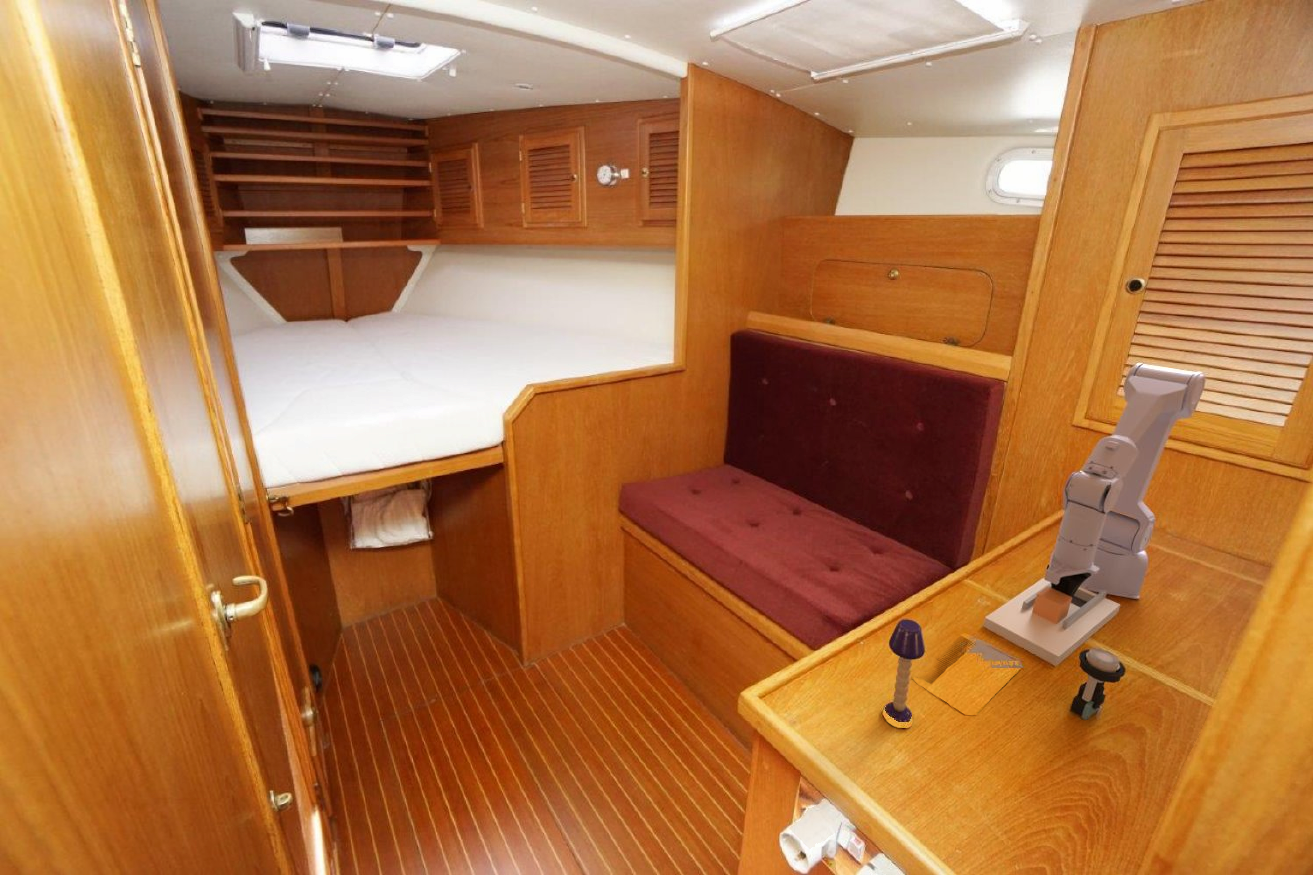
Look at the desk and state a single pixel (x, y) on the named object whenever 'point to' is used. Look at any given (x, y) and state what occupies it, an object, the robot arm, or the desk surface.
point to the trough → (1045, 635)
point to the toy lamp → (904, 665)
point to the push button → (1095, 680)
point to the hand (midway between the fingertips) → (1059, 602)
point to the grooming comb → (992, 654)
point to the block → (1052, 604)
